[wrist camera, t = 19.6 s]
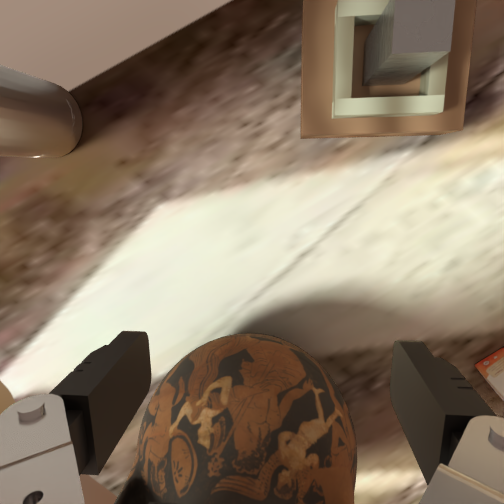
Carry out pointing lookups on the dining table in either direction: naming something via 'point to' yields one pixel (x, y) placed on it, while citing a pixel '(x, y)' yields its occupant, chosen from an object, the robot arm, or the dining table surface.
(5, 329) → the dining table surface
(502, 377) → the cracker box
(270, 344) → the vase
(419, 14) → the peg
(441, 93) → the stand
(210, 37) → the dining table surface
